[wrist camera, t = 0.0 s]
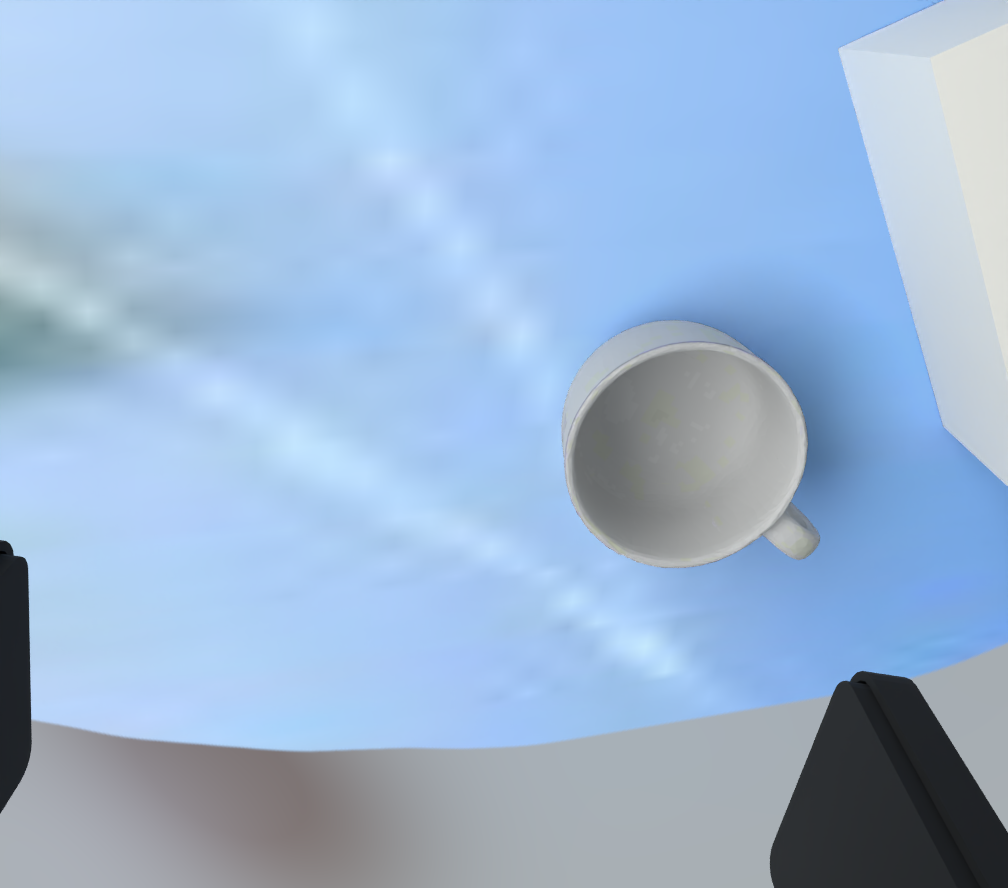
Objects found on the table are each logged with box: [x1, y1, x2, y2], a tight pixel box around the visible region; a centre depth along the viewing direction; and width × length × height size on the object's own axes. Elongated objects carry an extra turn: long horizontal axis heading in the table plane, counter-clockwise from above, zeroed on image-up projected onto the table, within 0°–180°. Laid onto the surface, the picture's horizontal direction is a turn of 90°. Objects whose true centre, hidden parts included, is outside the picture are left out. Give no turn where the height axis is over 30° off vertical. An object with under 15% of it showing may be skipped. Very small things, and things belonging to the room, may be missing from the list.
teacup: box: [561, 320, 820, 568], centre depth 46 cm, size 14×11×8 cm
